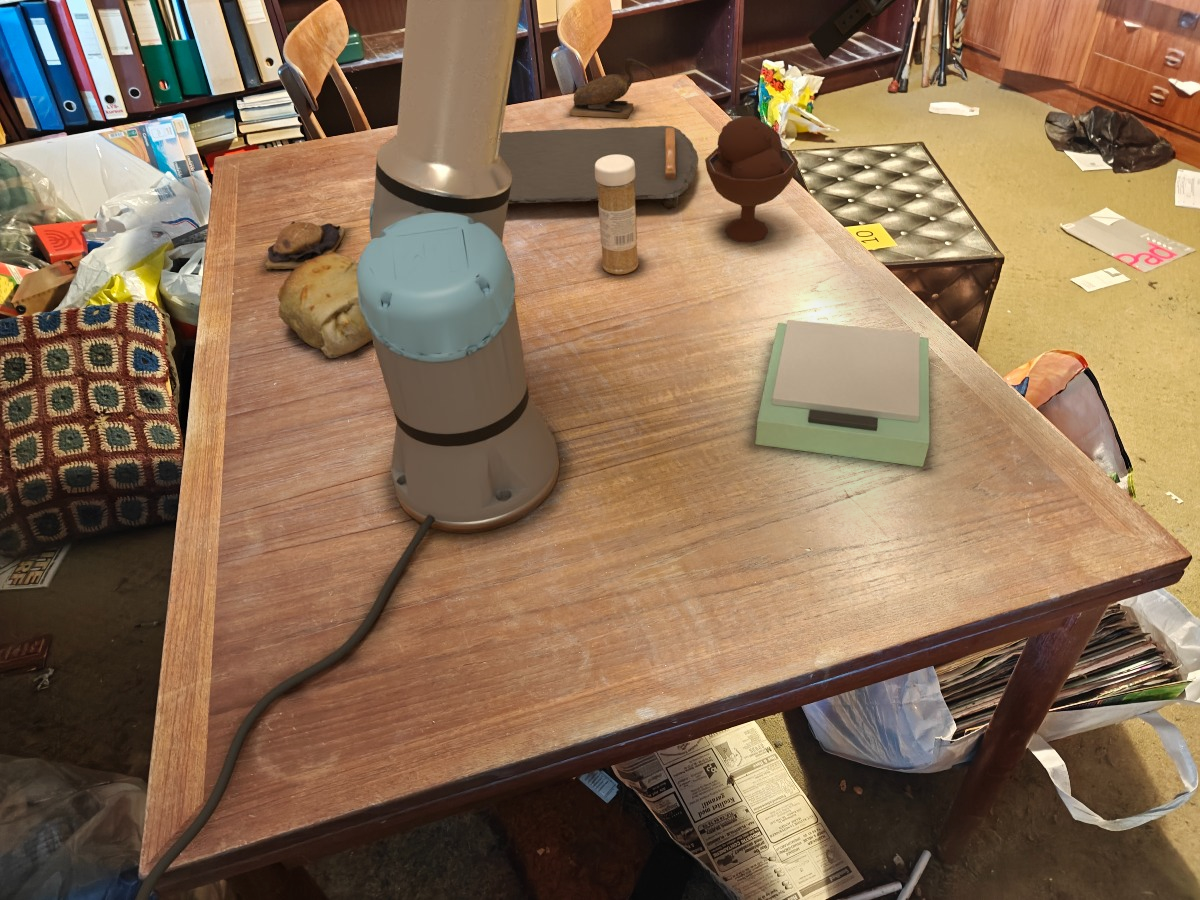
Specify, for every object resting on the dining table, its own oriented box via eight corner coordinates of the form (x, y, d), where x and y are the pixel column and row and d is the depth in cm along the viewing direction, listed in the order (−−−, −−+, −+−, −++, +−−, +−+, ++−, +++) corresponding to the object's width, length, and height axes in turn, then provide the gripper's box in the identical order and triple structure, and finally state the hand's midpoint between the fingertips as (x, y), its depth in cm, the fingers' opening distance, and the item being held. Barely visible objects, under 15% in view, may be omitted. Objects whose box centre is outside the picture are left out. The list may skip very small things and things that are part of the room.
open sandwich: (322, 273, 109) (314, 247, 106) (260, 271, 110) (250, 245, 107) (351, 231, 116) (344, 206, 114) (293, 230, 117) (285, 205, 115)
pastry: (302, 294, 105) (282, 235, 99) (403, 288, 104) (388, 229, 99) (271, 364, 94) (246, 302, 89) (383, 358, 94) (365, 295, 89)
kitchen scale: (922, 467, 77) (931, 435, 74) (755, 444, 80) (757, 413, 78) (922, 361, 88) (930, 330, 85) (775, 345, 91) (778, 315, 89)
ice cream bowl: (789, 254, 105) (801, 134, 95) (698, 250, 107) (700, 132, 97) (792, 213, 112) (804, 98, 102) (707, 210, 114) (710, 96, 104)
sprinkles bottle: (637, 255, 107) (633, 151, 98) (639, 274, 103) (636, 168, 94) (600, 258, 107) (593, 154, 98) (602, 277, 104) (594, 171, 94)
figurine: (658, 109, 141) (657, 54, 135) (652, 120, 138) (651, 64, 132) (577, 105, 144) (573, 51, 138) (569, 116, 141) (565, 61, 135)
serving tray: (415, 223, 117) (406, 180, 112) (447, 151, 134) (439, 111, 129) (700, 214, 114) (701, 170, 109) (695, 142, 130) (696, 101, 126)
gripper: (1024, -74, 64) (816, 99, 81) (1098, -140, 78) (908, 19, 95) (967, -161, 63) (768, 33, 80) (1052, -211, 77) (869, -38, 94)
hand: (844, 26), depth 88 cm, fingers open, 13 cm apart
